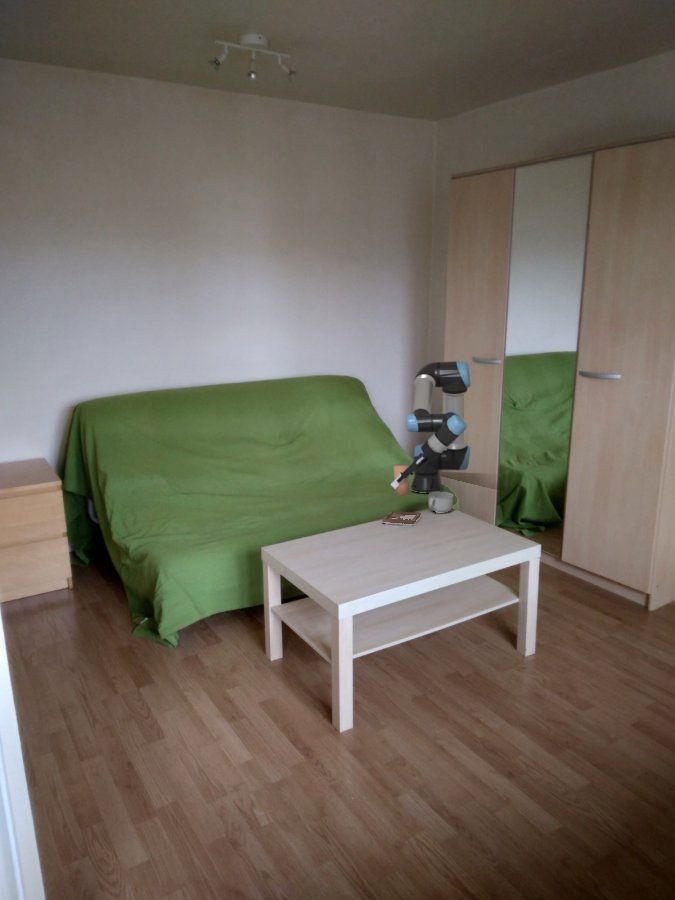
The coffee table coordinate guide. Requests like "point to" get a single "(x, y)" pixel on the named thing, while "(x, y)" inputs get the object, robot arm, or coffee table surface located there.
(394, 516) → the tray
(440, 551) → the coffee table surface
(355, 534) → the coffee table surface
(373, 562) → the coffee table surface
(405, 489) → the pillar candle
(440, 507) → the teacup
